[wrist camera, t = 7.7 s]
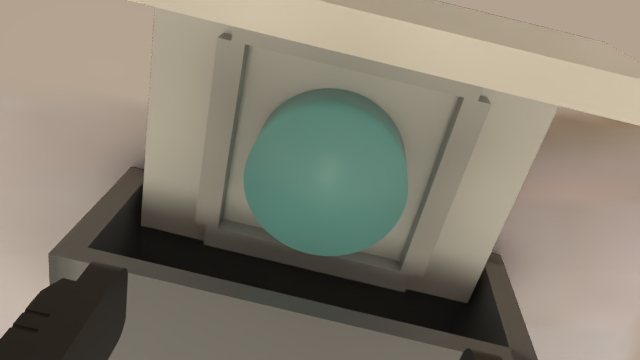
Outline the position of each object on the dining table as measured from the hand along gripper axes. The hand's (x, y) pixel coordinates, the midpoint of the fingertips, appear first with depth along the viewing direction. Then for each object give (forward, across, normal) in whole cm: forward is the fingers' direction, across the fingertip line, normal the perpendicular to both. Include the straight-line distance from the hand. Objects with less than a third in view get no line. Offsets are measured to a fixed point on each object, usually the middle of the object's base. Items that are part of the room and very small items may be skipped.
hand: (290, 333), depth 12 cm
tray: (+11, 0, 0) cm, 11 cm away
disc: (+10, 0, 0) cm, 10 cm away
